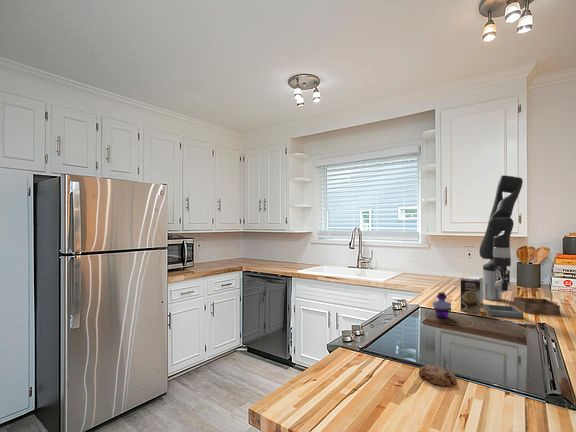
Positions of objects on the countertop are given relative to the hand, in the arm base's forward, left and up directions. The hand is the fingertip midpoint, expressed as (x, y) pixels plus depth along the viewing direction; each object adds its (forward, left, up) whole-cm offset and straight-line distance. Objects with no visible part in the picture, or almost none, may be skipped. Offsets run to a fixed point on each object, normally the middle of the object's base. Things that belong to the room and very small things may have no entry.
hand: (502, 289), depth 162 cm
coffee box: (-14, +2, -13) cm, 19 cm away
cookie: (-41, -83, -13) cm, 94 cm away
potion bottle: (-30, -15, -13) cm, 36 cm away
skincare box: (-8, +19, -13) cm, 24 cm away
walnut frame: (+19, +13, -12) cm, 26 cm away
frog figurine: (0, 0, -2) cm, 2 cm away
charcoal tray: (0, 0, -12) cm, 12 cm away
